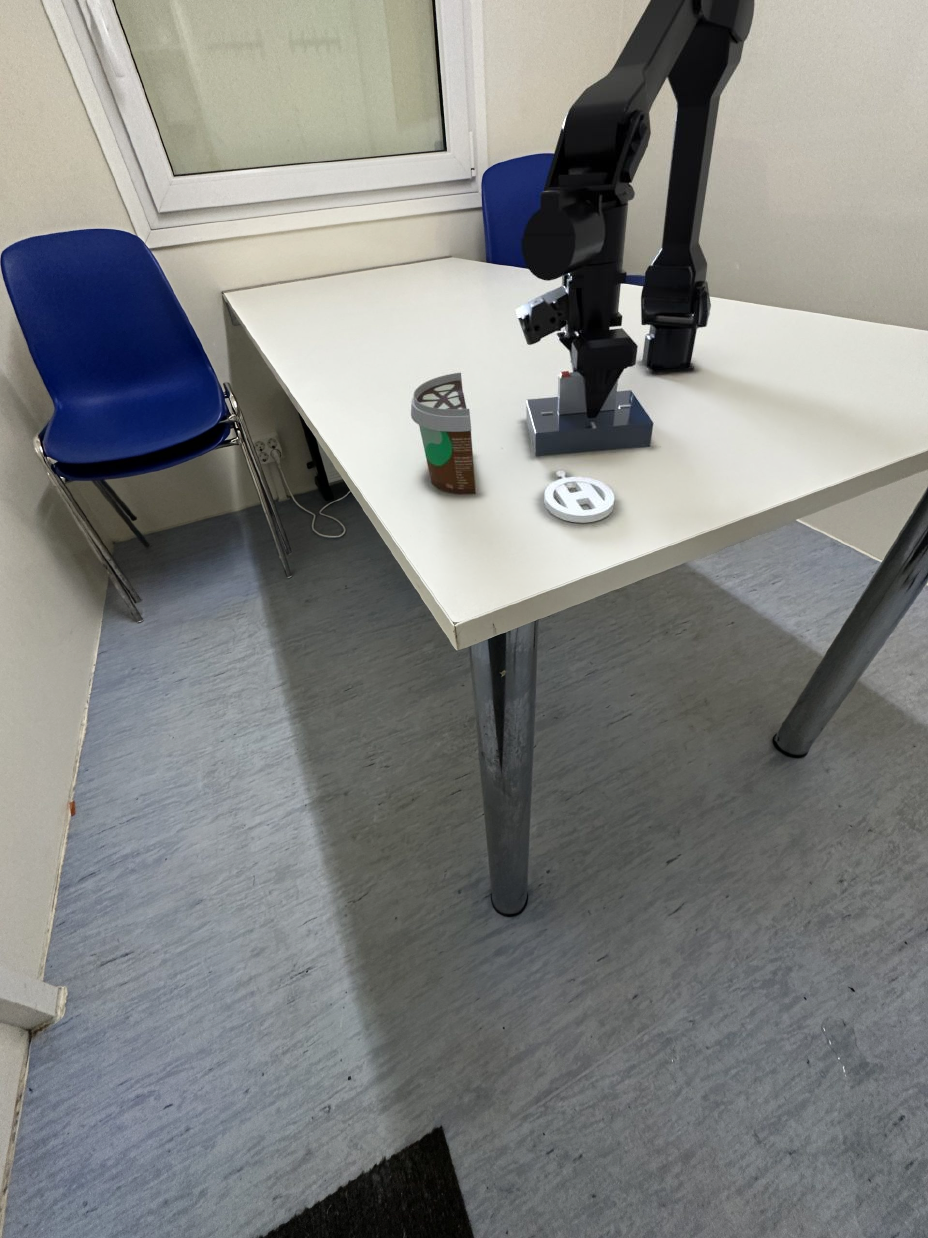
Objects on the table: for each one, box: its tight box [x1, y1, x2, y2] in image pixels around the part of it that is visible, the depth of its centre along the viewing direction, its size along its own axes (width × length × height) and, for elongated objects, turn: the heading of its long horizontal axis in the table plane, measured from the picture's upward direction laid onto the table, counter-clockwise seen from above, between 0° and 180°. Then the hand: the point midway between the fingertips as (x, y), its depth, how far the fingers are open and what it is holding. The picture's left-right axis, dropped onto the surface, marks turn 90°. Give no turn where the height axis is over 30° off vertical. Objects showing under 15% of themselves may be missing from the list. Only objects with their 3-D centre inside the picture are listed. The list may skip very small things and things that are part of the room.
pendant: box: [543, 469, 615, 524], centre depth 59 cm, size 7×11×1 cm, turn 12°
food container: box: [410, 371, 477, 495], centre depth 62 cm, size 12×6×10 cm, turn 5°
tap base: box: [525, 389, 654, 457], centre depth 70 cm, size 14×11×3 cm
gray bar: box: [557, 370, 619, 415], centre depth 67 cm, size 7×2×5 cm, turn 91°
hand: (586, 405), depth 68 cm, fingers open, 7 cm apart
